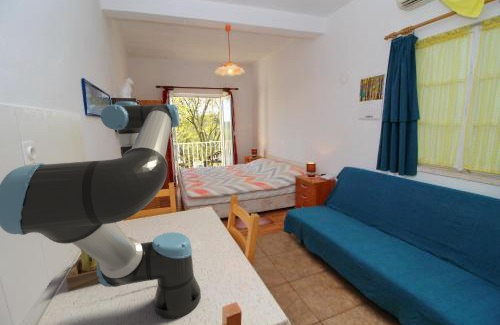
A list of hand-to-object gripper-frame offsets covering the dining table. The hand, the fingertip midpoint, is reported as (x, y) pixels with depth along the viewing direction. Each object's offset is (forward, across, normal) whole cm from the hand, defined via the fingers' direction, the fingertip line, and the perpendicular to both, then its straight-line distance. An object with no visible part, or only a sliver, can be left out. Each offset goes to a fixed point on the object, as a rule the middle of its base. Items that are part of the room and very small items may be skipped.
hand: (138, 200), depth 88 cm
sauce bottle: (+31, +11, +21) cm, 39 cm away
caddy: (+32, +11, +16) cm, 37 cm away
